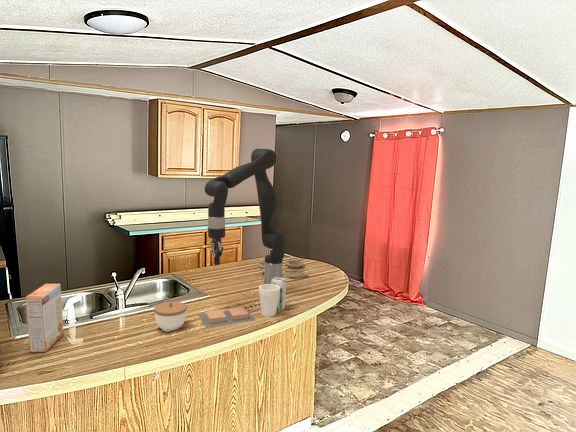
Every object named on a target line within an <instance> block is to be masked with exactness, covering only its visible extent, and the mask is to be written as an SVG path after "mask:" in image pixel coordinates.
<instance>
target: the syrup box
mask: <svg viewBox="0 0 576 432" xmlns="http://www.w3.org/2000/svg"><path fill="white" fill-rule="evenodd" d="M271 284H274V285H278V286H279V287H280V293H279V299H278V304H277V310H278V311H279V312H282V311H283V310H284V309H285V308H286V296H287V295H286V293H287V278H284V277H283V278H278V277H274V278H273V279H272V280H271ZM277 310H276V311H277Z"/></svg>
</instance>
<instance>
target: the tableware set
mask: <svg viewBox="0 0 576 432" xmlns="http://www.w3.org/2000/svg"><path fill="white" fill-rule="evenodd" d="M303 261H304V259H285V260H284V262H285V264H286V265H287V266H288V267H289V269H285V276H286V277H288V278H293V279H303V278H306V277H309V274H308V273H307V272H306V270H305V269H304V270H303V269H301V266H304V264H305V263H304V262H303ZM257 265H258V267H259V268H261V273H262V274H264V268H265V261H258V264H257Z"/></svg>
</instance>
